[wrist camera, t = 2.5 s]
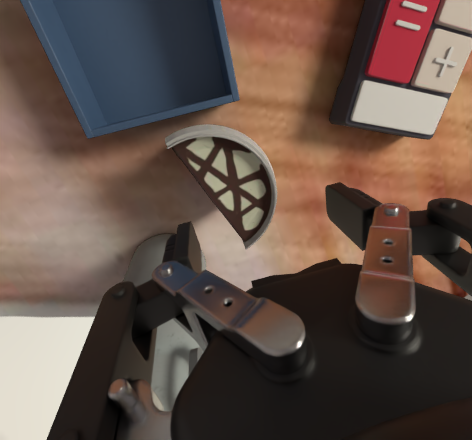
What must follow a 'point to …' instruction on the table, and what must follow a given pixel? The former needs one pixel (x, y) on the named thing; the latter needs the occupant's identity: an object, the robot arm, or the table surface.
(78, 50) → the tote
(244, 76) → the table surface
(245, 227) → the food container
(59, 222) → the table surface
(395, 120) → the calculator
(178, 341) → the water bottle
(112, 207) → the table surface
